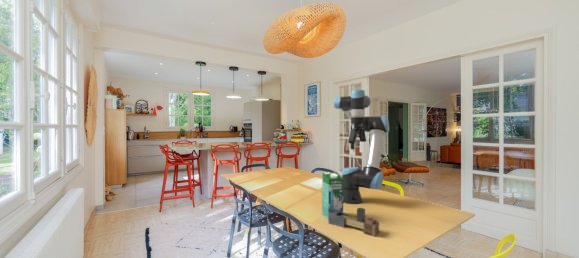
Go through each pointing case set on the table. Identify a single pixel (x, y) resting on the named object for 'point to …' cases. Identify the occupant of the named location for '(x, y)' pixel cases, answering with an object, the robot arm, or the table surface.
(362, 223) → the slip tube
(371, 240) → the table surface
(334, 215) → the sleeve
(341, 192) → the milk carton
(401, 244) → the table surface
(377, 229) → the socket
